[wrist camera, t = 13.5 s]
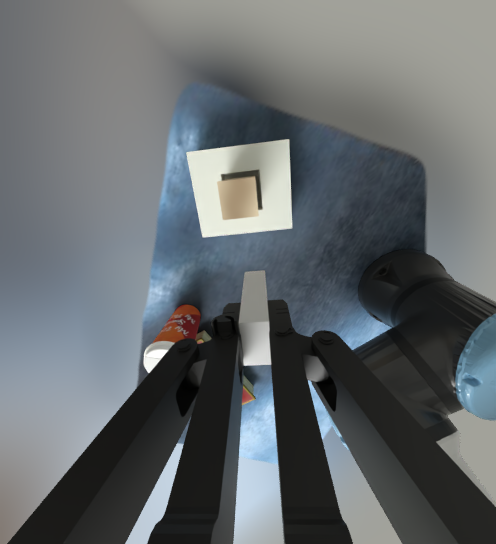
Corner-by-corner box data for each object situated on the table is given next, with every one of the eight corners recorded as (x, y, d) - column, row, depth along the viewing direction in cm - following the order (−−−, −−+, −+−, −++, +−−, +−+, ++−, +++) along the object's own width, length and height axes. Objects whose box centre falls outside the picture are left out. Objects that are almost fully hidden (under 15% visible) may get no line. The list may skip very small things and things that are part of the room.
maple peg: (254, 175, 36) (255, 176, 24) (257, 201, 38) (259, 216, 25) (229, 178, 37) (216, 181, 24) (232, 204, 38) (222, 220, 25)
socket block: (283, 144, 36) (289, 139, 30) (286, 220, 41) (292, 228, 35) (196, 155, 37) (186, 152, 31) (209, 229, 42) (202, 237, 36)
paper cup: (198, 296, 47) (178, 342, 34) (210, 326, 50) (195, 379, 37) (163, 304, 48) (131, 352, 35) (177, 333, 51) (151, 387, 38)
